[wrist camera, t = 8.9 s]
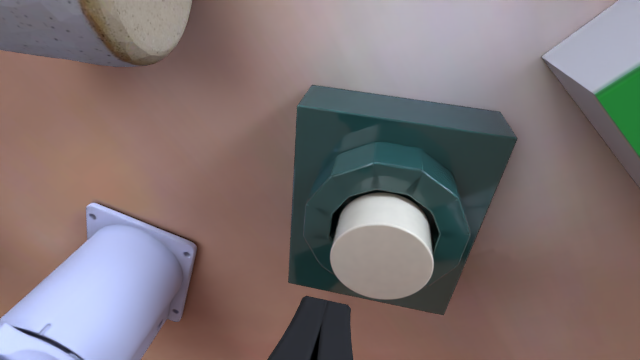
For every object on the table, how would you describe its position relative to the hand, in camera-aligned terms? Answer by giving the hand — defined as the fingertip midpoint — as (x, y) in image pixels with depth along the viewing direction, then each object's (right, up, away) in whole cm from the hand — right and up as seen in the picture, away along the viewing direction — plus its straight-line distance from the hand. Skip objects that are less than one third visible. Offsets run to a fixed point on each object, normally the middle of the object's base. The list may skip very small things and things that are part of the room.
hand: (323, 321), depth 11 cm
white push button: (+3, +2, +5) cm, 6 cm away
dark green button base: (+3, +4, +9) cm, 11 cm away
